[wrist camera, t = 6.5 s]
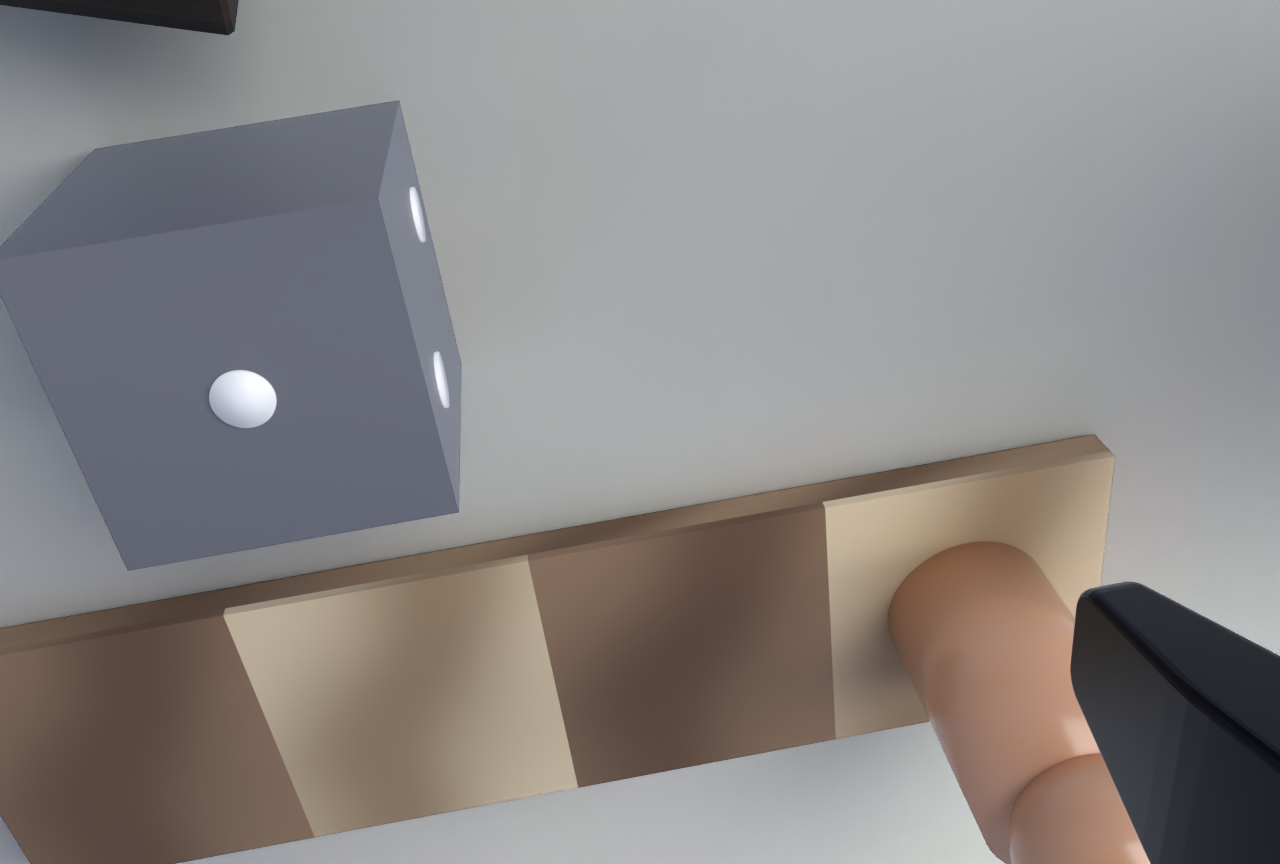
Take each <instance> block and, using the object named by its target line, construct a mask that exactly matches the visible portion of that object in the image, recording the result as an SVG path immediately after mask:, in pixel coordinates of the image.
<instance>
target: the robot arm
mask: <svg viewBox="0 0 1280 864" xmlns="http://www.w3.org/2000/svg"><path fill="white" fill-rule="evenodd" d="M1070 673H1071V681H1072V686H1073V690H1074V693H1075V696H1076V699H1077V701H1078V704H1079V706H1080V708H1081V710H1082V713H1083V715H1084V717H1085V719H1086V722H1087V724H1088V726H1089V728H1090V731H1091V733H1092V735H1093V737H1094V739H1095V742H1096V744H1097V746H1098V748H1099V751H1100V753H1101V755H1102V757H1103V760H1104V762H1105V764H1106V766H1107V769H1108V771H1109V773H1110V775H1111V778H1112V780H1113V782H1114V784H1115V787H1116V789H1117V791H1118V793H1119V796H1120V798H1121V800H1122V802H1123V805H1124V807H1125V809H1126V811H1127V814H1128V816H1129V818H1130V820H1131V822H1132V825H1133V827H1134V829H1135V831H1136V834H1137V836H1138V838H1139V840H1140V843H1141V845H1142V847H1143V849H1144V851H1145V853H1146V856H1147V858H1148V860H1149V862H1150V864H1280V656H1279V655H1277V654H1275V653H1273V652H1271V651H1269V650H1267V649H1265V648H1263V647H1262V646H1260V645H1258V644H1256V643H1254V642H1252V641H1250V640H1248V639H1246V638H1244V637H1242V636H1240V635H1239V634H1237V633H1235V632H1233V631H1231V630H1229V629H1227V628H1225V627H1223V626H1221V625H1219V624H1217V623H1215V622H1214V621H1212V620H1210V619H1208V618H1206V617H1204V616H1202V615H1200V614H1198V613H1196V612H1194V611H1192V610H1190V609H1189V608H1187V607H1185V606H1183V605H1181V604H1179V603H1177V602H1175V601H1173V600H1171V599H1169V598H1167V597H1165V596H1164V595H1162V594H1160V593H1158V592H1156V591H1154V590H1152V589H1150V588H1148V587H1146V586H1144V585H1142V584H1139V583H1136V582H1122V583H1117V584H1111V585H1106V586H1100V587H1095V588H1090V589H1088V590H1086V591H1084V592H1083V593H1082V594H1081V595H1080V597H1079V599H1078V602H1077V606H1076V615H1075V625H1074V635H1073V645H1072V654H1071V664H1070Z"/></svg>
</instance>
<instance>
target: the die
mask: <svg viewBox="0 0 1280 864" xmlns="http://www.w3.org/2000/svg"><path fill="white" fill-rule="evenodd" d="M0 295H1V298H2V300H3V302H4V304H5V306H6V308H7V311H8V313H9V315H10V317H11V319H12V321H13V323H14V326H15V328H16V330H17V332H18V334H19V336H20V339H21V341H22V343H23V345H24V347H25V349H26V352H27V354H28V356H29V358H30V360H31V362H32V365H33V367H34V369H35V371H36V373H37V375H38V378H39V380H40V382H41V384H42V386H43V388H44V391H45V393H46V395H47V397H48V399H49V401H50V404H51V406H52V408H53V410H54V412H55V414H56V417H57V419H58V421H59V423H60V425H61V427H62V430H63V432H64V434H65V436H66V438H67V440H68V443H69V445H70V447H71V449H72V451H73V453H74V456H75V458H76V460H77V462H78V464H79V466H80V469H81V471H82V473H83V475H84V477H85V479H86V482H87V484H88V486H89V488H90V490H91V492H92V495H93V497H94V499H95V501H96V503H97V505H98V508H99V510H100V512H101V514H102V516H103V518H104V521H105V523H106V525H107V527H108V529H109V531H110V534H111V536H112V538H113V540H114V542H115V544H116V547H117V549H118V551H119V553H120V555H121V557H122V560H123V562H124V564H125V566H126V568H127V570H128V571H129V570H135V569H141V568H146V567H152V566H158V565H163V564H169V563H174V562H180V561H186V560H191V559H197V558H203V557H208V556H214V555H220V554H225V553H231V552H237V551H242V550H248V549H254V548H259V547H265V546H271V545H276V544H282V543H288V542H293V541H299V540H305V539H310V538H316V537H322V536H327V535H333V534H339V533H344V532H350V531H356V530H361V529H367V528H373V527H378V526H384V525H390V524H395V523H401V522H406V521H412V520H418V519H423V518H429V517H435V516H440V515H446V514H452V513H457V512H459V478H460V420H461V361H460V357H459V352H458V348H457V344H456V340H455V335H454V331H453V327H452V323H451V318H450V314H449V310H448V306H447V301H446V297H445V293H444V289H443V284H442V280H441V276H440V272H439V267H438V263H437V259H436V255H435V250H434V246H433V242H432V238H431V233H430V229H429V225H428V221H427V216H426V212H425V208H424V204H423V199H422V195H421V191H420V187H419V182H418V178H417V174H416V170H415V165H414V161H413V157H412V153H411V148H410V144H409V140H408V136H407V131H406V127H405V123H404V119H403V114H402V110H401V106H400V102H399V101H392V102H386V103H380V104H374V105H367V106H361V107H355V108H349V109H342V110H336V111H330V112H324V113H317V114H311V115H305V116H299V117H292V118H286V119H280V120H274V121H267V122H261V123H255V124H249V125H242V126H236V127H230V128H224V129H217V130H211V131H205V132H199V133H192V134H186V135H180V136H174V137H167V138H161V139H155V140H149V141H142V142H136V143H130V144H124V145H117V146H111V147H105V148H99V149H95V150H94V151H93V152H92V153H91V154H90V155H89V156H88V157H87V158H86V159H85V161H84V162H83V163H82V164H81V165H80V166H79V167H78V168H77V169H76V170H75V171H74V172H73V173H72V174H71V175H70V176H69V177H68V178H67V179H66V180H65V181H64V182H63V183H62V184H61V185H60V186H59V187H58V188H57V189H56V190H55V191H54V192H53V193H52V194H51V195H50V196H49V197H48V198H47V199H46V200H45V201H44V202H43V204H42V205H41V206H40V207H39V208H38V209H37V210H36V211H35V212H34V213H33V214H32V215H31V216H30V217H29V218H28V219H27V220H26V221H25V222H24V223H23V224H22V225H21V226H20V227H19V228H18V229H17V230H16V231H15V232H14V233H13V234H12V235H11V236H10V237H9V238H8V239H7V240H6V241H5V242H4V243H3V244H2V246H1V247H0Z"/></svg>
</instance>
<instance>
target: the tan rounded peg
mask: <svg viewBox="0 0 1280 864" xmlns="http://www.w3.org/2000/svg"><path fill="white" fill-rule="evenodd" d="M1074 625H1075V617H1074V616H1073V614H1072V613H1071V611H1070V610H1069V609H1068V607H1067V606H1066V604H1065V603H1064V601H1063V600H1062V598H1061V597H1060V596H1059V594H1058V593H1057V591H1056V590H1055V588H1054V587H1053V586H1052V584H1051V583H1050V581H1049V580H1048V578H1047V577H1046V575H1045V574H1044V573H1043V571H1042V570H1041V568H1040V567H1039V565H1038V564H1037V563H1036V562H1035V560H1034V559H1033V558H1032V557H1030V556H1029V555H1028V554H1027V553H1025V552H1024V551H1022V550H1021V549H1018V548H1016V547H1014V546H1011V545H1008V544H1004V543H999V542H986V541H982V542H971V543H966V544H961V545H958V546H954V547H951V548H949V549H946V550H944V551H941V552H939V553H937V554H935V555H934V556H932V557H930V558H929V559H927V560H926V561H924V562H923V563H921V564H920V565H919V566H918V567H916V568H915V569H914V570H913V571H912V572H911V573H910V574H909V575H908V576H907V577H906V578H905V579H904V581H903V582H902V583H901V585H900V586H899V588H898V589H897V591H896V593H895V595H894V597H893V599H892V601H891V605H890V608H889V614H888V628H889V633H890V636H891V638H892V641H893V643H894V645H895V647H896V649H897V652H898V654H899V656H900V658H901V660H902V662H903V664H904V667H905V669H906V671H907V673H908V675H909V677H910V680H911V682H912V684H913V686H914V688H915V690H916V693H917V695H918V697H919V699H920V701H921V703H922V705H923V708H924V710H925V712H926V714H927V716H928V718H929V721H930V723H931V725H932V727H933V729H934V731H935V734H936V736H937V738H938V740H939V742H940V744H941V746H942V749H943V751H944V753H945V755H946V757H947V759H948V762H949V764H950V766H951V768H952V770H953V772H954V774H955V777H956V779H957V781H958V783H959V785H960V787H961V790H962V792H963V794H964V796H965V798H966V800H967V803H968V805H969V807H970V809H971V811H972V813H973V815H974V818H975V820H976V822H977V824H978V826H979V828H980V831H981V833H982V835H983V837H984V839H985V841H986V844H987V845H988V847H989V848H990V850H991V851H992V853H993V854H994V855H995V856H996V857H997V858H999V859H1000V860H1002V861H1003V862H1004V863H1006V864H1150V862H1149V860H1148V858H1147V856H1146V853H1145V851H1144V849H1143V847H1142V845H1141V843H1140V840H1139V838H1138V836H1137V834H1136V831H1135V829H1134V827H1133V825H1132V822H1131V820H1130V818H1129V816H1128V814H1127V811H1126V809H1125V807H1124V805H1123V802H1122V800H1121V798H1120V796H1119V793H1118V791H1117V789H1116V787H1115V784H1114V782H1113V780H1112V778H1111V775H1110V773H1109V771H1108V769H1107V766H1106V764H1105V762H1104V760H1103V757H1102V755H1101V753H1100V751H1099V748H1098V746H1097V744H1096V742H1095V739H1094V737H1093V735H1092V733H1091V731H1090V728H1089V726H1088V724H1087V722H1086V719H1085V717H1084V715H1083V713H1082V710H1081V708H1080V706H1079V704H1078V701H1077V699H1076V696H1075V693H1074V690H1073V686H1072V681H1071V673H1070V664H1071V654H1072V645H1073V635H1074Z"/></svg>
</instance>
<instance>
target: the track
mask: <svg viewBox="0 0 1280 864" xmlns="http://www.w3.org/2000/svg"><path fill="white" fill-rule="evenodd" d="M1114 461H1115V456H1114V455H1113V454H1112V453H1111V451H1110V450H1109V449H1108V448H1107V447H1106V446H1105V445H1104V444H1103V443H1102V442H1101V441H1100V440H1099V439H1098V438H1097V436H1096V435H1095V434H1094V435H1089V436H1083V437H1078V438H1072V439H1066V440H1061V441H1055V442H1049V443H1044V444H1038V445H1033V446H1027V447H1021V448H1016V449H1010V450H1004V451H999V452H993V453H987V454H982V455H976V456H971V457H965V458H959V459H954V460H948V461H942V462H937V463H931V464H925V465H920V466H914V467H909V468H903V469H897V470H892V471H886V472H880V473H875V474H869V475H863V476H858V477H852V478H847V479H841V480H835V481H830V482H824V483H818V484H813V485H807V486H802V487H796V488H790V489H785V490H779V491H773V492H768V493H762V494H756V495H751V496H745V497H740V498H734V499H728V500H723V501H717V502H711V503H706V504H700V505H694V506H689V507H683V508H678V509H672V510H666V511H661V512H655V513H649V514H644V515H638V516H632V517H627V518H621V519H616V520H610V521H604V522H599V523H593V524H587V525H582V526H576V527H571V528H565V529H559V530H554V531H548V532H542V533H537V534H531V535H525V536H520V537H514V538H509V539H503V540H497V541H492V542H486V543H480V544H475V545H469V546H463V547H458V548H452V549H447V550H441V551H435V552H430V553H424V554H418V555H413V556H407V557H401V558H396V559H390V560H385V561H379V562H373V563H368V564H362V565H356V566H351V567H345V568H340V569H334V570H328V571H323V572H317V573H311V574H306V575H300V576H294V577H289V578H283V579H278V580H272V581H266V582H261V583H255V584H249V585H244V586H238V587H232V588H227V589H221V590H216V591H210V592H204V593H199V594H193V595H187V596H182V597H176V598H170V599H165V600H159V601H154V602H148V603H142V604H137V605H131V606H125V607H120V608H114V609H109V610H103V611H97V612H92V613H86V614H80V615H75V616H69V617H63V618H58V619H52V620H47V621H41V622H35V623H30V624H24V625H18V626H13V627H7V628H1V629H0V815H1V817H2V819H3V820H4V822H5V823H6V825H7V827H8V828H9V830H10V831H11V833H12V835H13V836H14V838H15V839H16V841H17V843H18V844H19V846H20V847H21V849H22V851H23V852H24V854H25V855H26V857H27V859H28V860H29V862H30V863H31V864H176V863H181V862H186V861H192V860H197V859H202V858H207V857H213V856H218V855H223V854H229V853H234V852H239V851H245V850H250V849H255V848H261V847H266V846H271V845H276V844H282V843H287V842H292V841H298V840H303V839H308V838H314V837H319V836H324V835H330V834H335V833H340V832H345V831H351V830H356V829H361V828H367V827H372V826H377V825H383V824H388V823H393V822H399V821H404V820H409V819H414V818H420V817H425V816H430V815H436V814H441V813H446V812H452V811H457V810H462V809H468V808H473V807H478V806H483V805H489V804H494V803H499V802H505V801H510V800H515V799H521V798H526V797H531V796H537V795H542V794H547V793H552V792H558V791H563V790H568V789H574V788H579V787H584V786H590V785H595V784H600V783H606V782H611V781H616V780H622V779H627V778H632V777H637V776H643V775H648V774H653V773H659V772H664V771H669V770H675V769H680V768H685V767H691V766H696V765H701V764H706V763H712V762H717V761H722V760H728V759H733V758H738V757H744V756H749V755H754V754H760V753H765V752H770V751H775V750H781V749H786V748H791V747H797V746H802V745H807V744H813V743H818V742H823V741H829V740H834V739H839V738H844V737H850V736H855V735H860V734H866V733H871V732H876V731H882V730H887V729H892V728H898V727H903V726H908V725H913V724H919V723H924V722H929V718H928V716H927V714H926V712H925V710H924V708H923V705H922V703H921V701H920V699H919V697H918V695H917V693H916V690H915V688H914V686H913V684H912V682H911V680H910V677H909V675H908V673H907V671H906V669H905V667H904V664H903V662H902V660H901V658H900V656H899V654H898V652H897V649H896V647H895V645H894V643H893V641H892V638H891V636H890V633H889V628H888V614H889V608H890V605H891V601H892V599H893V597H894V595H895V593H896V591H897V589H898V588H899V586H900V585H901V583H902V582H903V581H904V579H905V578H906V577H907V576H908V575H909V574H910V573H911V572H912V571H913V570H914V569H915V568H916V567H918V566H919V565H920V564H921V563H923V562H924V561H926V560H927V559H929V558H930V557H932V556H934V555H935V554H937V553H939V552H941V551H944V550H946V549H949V548H951V547H954V546H958V545H961V544H966V543H971V542H982V541H986V542H999V543H1004V544H1008V545H1011V546H1014V547H1016V548H1018V549H1021V550H1022V551H1024V552H1025V553H1027V554H1028V555H1029V556H1030V557H1032V558H1033V559H1034V560H1035V562H1036V563H1037V564H1038V565H1039V567H1040V568H1041V570H1042V571H1043V573H1044V574H1045V575H1046V577H1047V578H1048V580H1049V581H1050V583H1051V584H1052V586H1053V587H1054V588H1055V590H1056V591H1057V593H1058V594H1059V596H1060V597H1061V598H1062V600H1063V601H1064V603H1065V604H1066V606H1067V607H1068V609H1069V610H1070V611H1071V613H1072V614H1073V616H1074V617H1075V615H1076V606H1077V602H1078V599H1079V597H1080V595H1081V594H1082V593H1083V592H1084V591H1086V590H1088V589H1090V588H1095V587H1100V583H1101V574H1102V566H1103V557H1104V548H1105V539H1106V531H1107V522H1108V513H1109V505H1110V496H1111V487H1112V479H1113V470H1114Z"/></svg>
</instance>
